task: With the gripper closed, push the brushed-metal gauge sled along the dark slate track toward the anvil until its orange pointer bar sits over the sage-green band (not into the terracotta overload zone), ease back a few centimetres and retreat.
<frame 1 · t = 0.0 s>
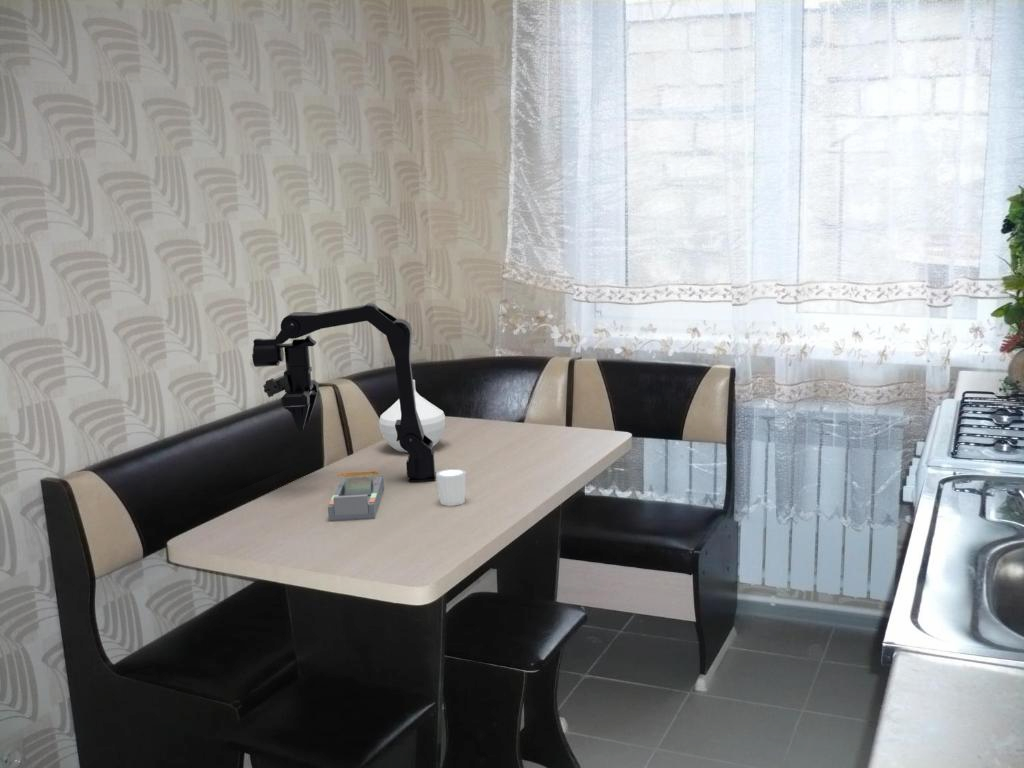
hand: (303, 427, 260), 15 cm above the table, fingers open, 9 cm apart
vase: (414, 449, 293), on the table
shot glass: (452, 502, 243), on the table
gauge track: (357, 503, 245), on the table
gauge sled: (358, 482, 248), point 4 cm above the table, slide at 0.0 cm
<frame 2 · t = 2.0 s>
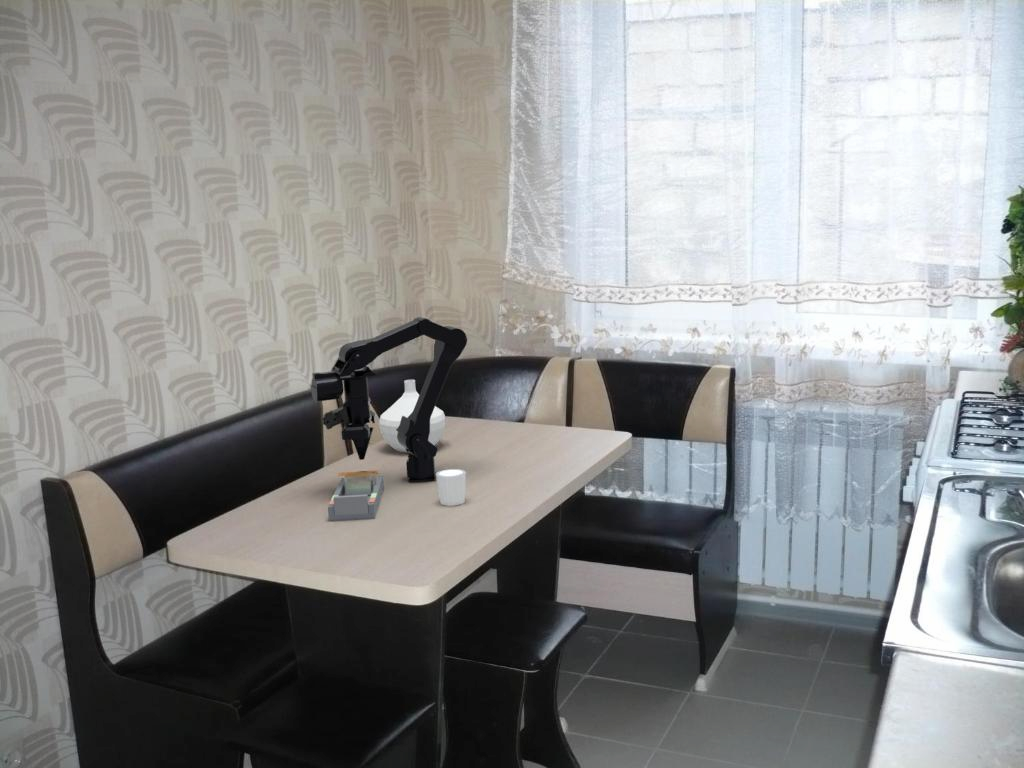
hand: (362, 459, 256), 7 cm above the table, fingers closed
nothing on the table moved.
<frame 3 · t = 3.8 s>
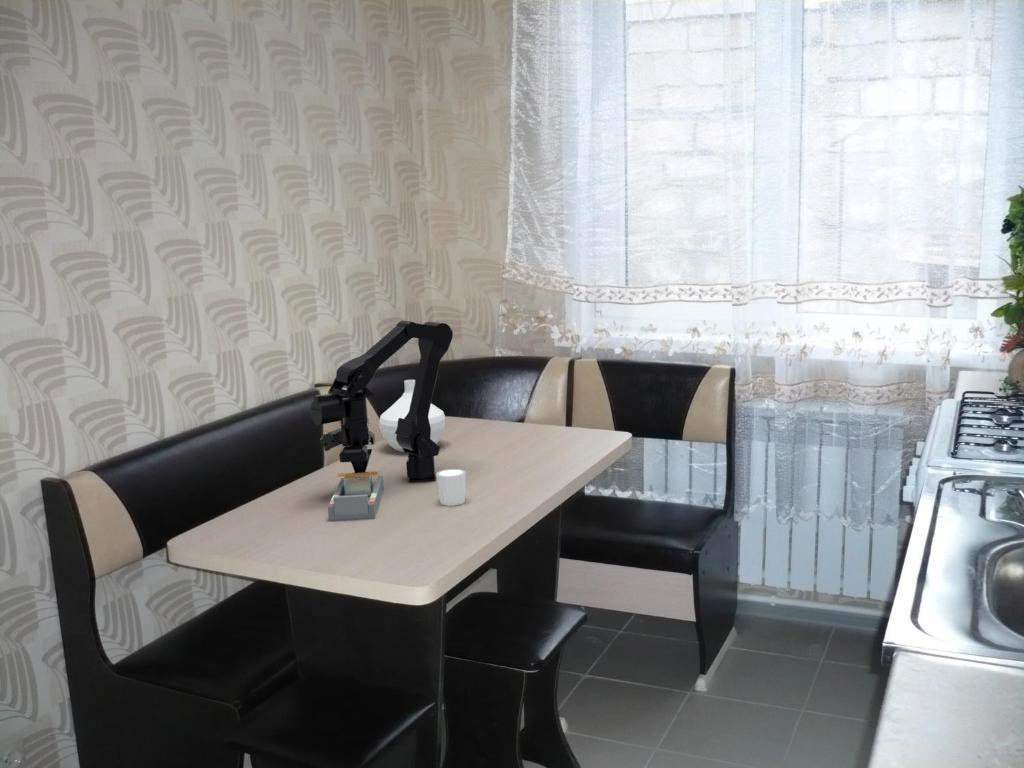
hand: (360, 481, 252), 3 cm above the table, fingers closed
gauge sled: (358, 483, 248), point 4 cm above the table, slide at 0.8 cm, touching gripper
everything else where it was.
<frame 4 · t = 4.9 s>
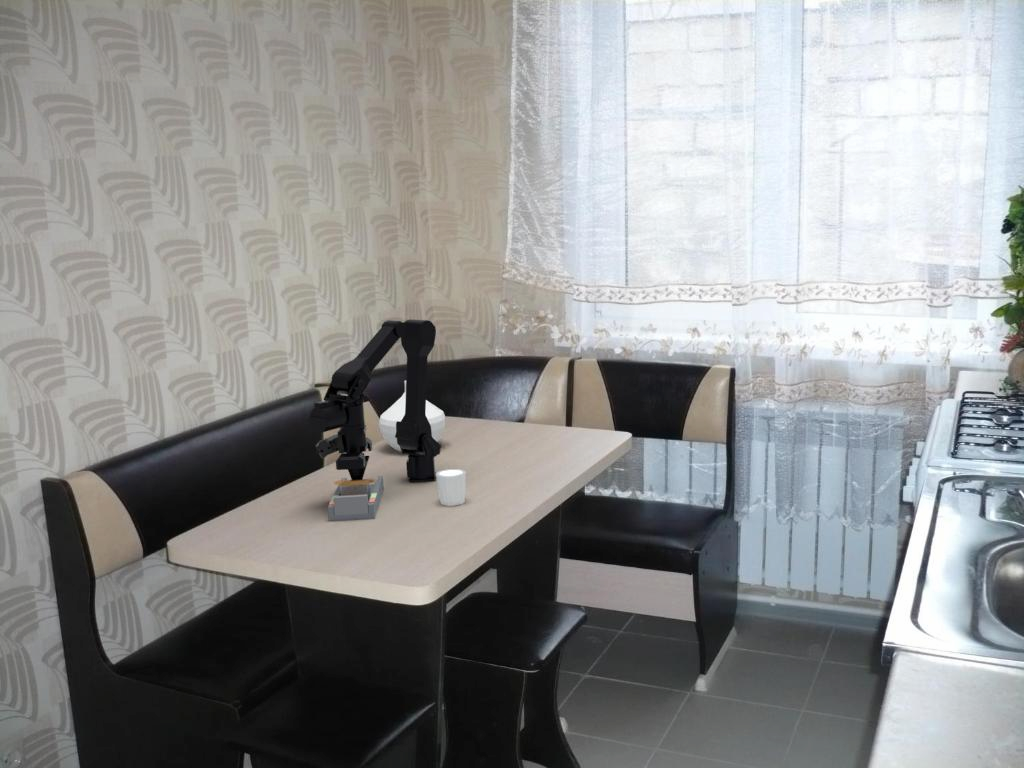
hand: (357, 489, 246), 3 cm above the table, fingers closed
gauge sled: (355, 490, 241), point 4 cm above the table, slide at 7.1 cm, touching gripper
everything else where it was.
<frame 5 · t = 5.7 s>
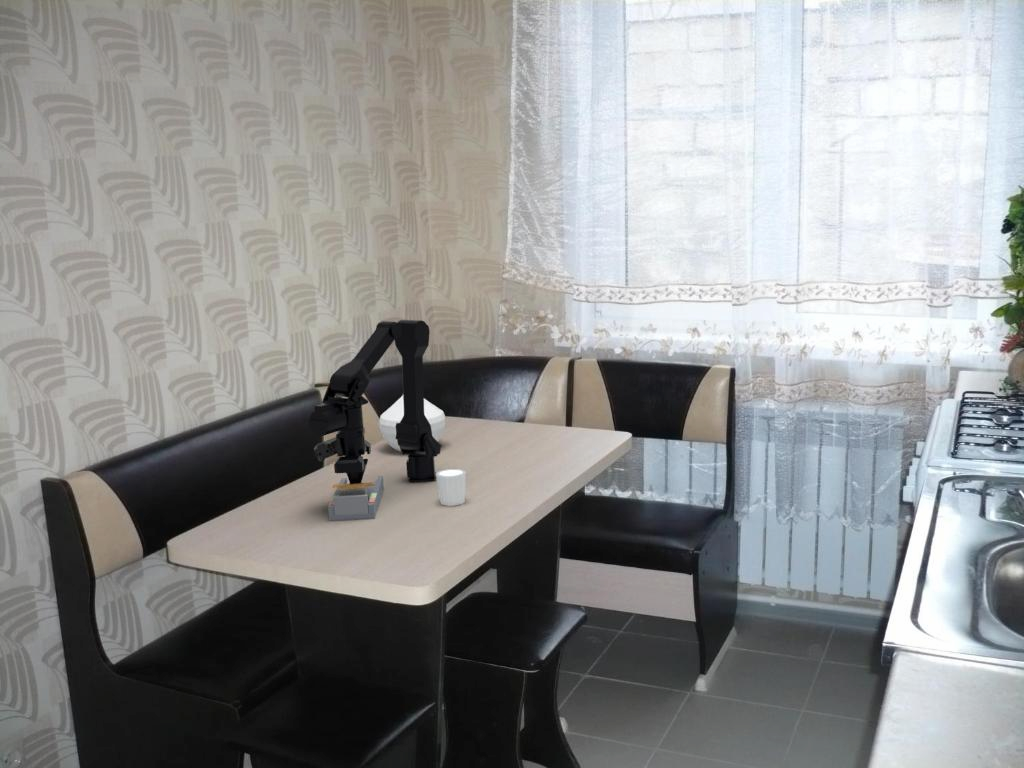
hand: (355, 492, 243), 3 cm above the table, fingers closed
gauge sled: (353, 494, 239), point 4 cm above the table, slide at 10.0 cm, touching gripper
everything else where it was.
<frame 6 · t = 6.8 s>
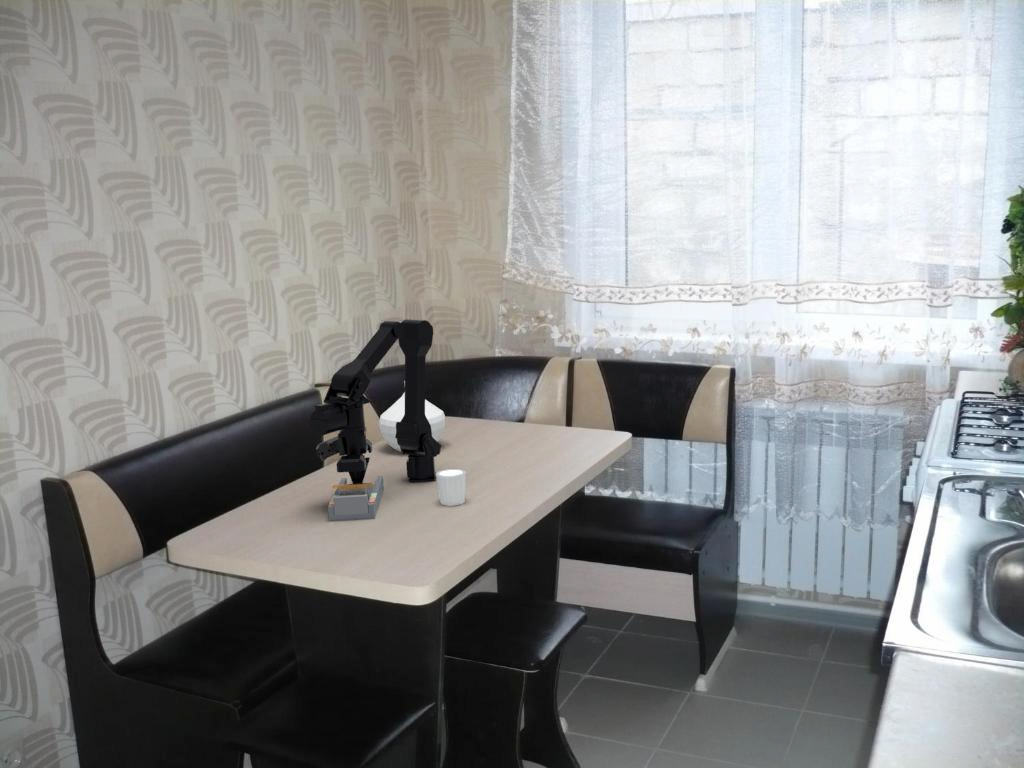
hand: (357, 491, 245), 3 cm above the table, fingers closed
gauge sled: (353, 494, 238), point 4 cm above the table, slide at 10.2 cm
everything else where it was.
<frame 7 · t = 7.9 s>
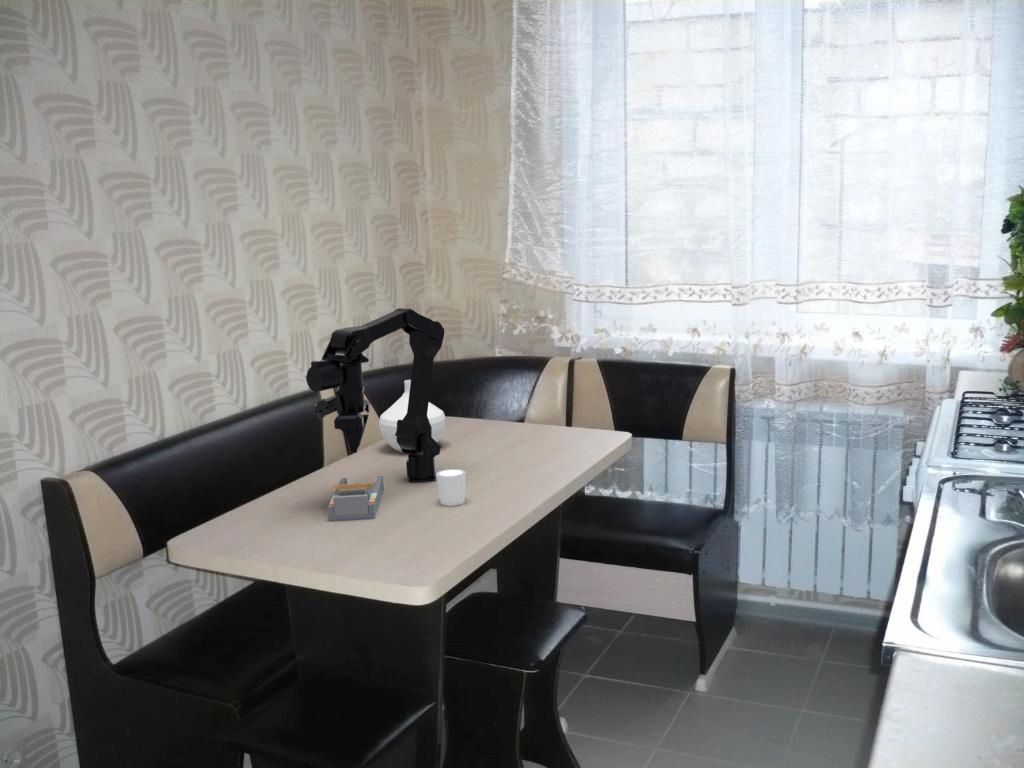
hand: (355, 449, 246), 12 cm above the table, fingers open, 5 cm apart
nothing on the table moved.
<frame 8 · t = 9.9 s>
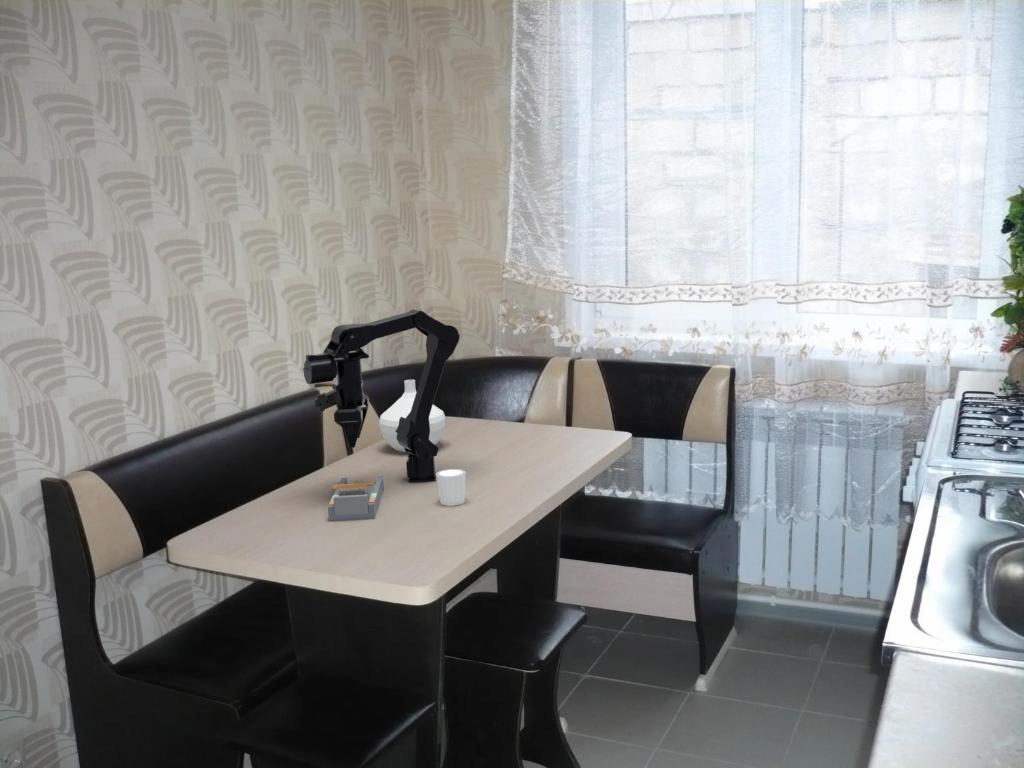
hand: (354, 442, 253), 12 cm above the table, fingers open, 9 cm apart
nothing on the table moved.
at the end: gauge sled slide at 10.2 cm; the gripper is holding nothing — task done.
